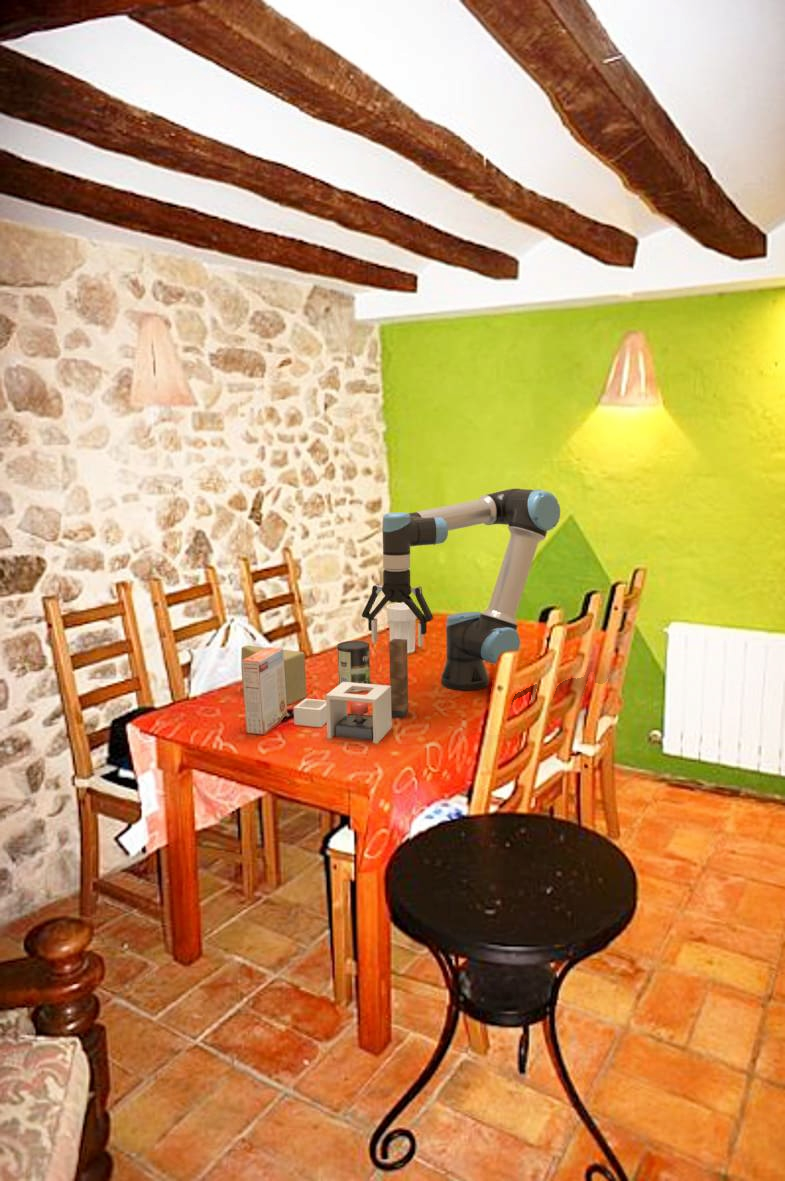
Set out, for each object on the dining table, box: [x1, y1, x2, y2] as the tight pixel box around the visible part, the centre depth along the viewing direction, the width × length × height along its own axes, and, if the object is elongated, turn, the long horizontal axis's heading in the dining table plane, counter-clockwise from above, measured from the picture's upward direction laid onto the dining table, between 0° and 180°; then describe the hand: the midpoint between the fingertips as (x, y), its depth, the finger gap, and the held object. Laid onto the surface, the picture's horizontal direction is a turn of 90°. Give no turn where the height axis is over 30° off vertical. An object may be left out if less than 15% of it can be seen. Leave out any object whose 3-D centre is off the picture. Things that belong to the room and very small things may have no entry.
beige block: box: [240, 645, 307, 706], centre depth 248 cm, size 22×10×15 cm, turn 57°
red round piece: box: [350, 701, 369, 723], centre depth 216 cm, size 5×5×6 cm
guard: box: [325, 682, 393, 745], centre depth 216 cm, size 14×12×12 cm
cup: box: [386, 602, 418, 656], centre depth 295 cm, size 11×11×17 cm
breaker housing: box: [335, 712, 373, 742], centre depth 217 cm, size 10×9×4 cm
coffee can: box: [336, 640, 371, 693], centre depth 255 cm, size 10×10×14 cm
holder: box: [293, 698, 327, 728], centre depth 226 cm, size 8×8×5 cm
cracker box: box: [240, 646, 288, 736], centre depth 222 cm, size 14×6×21 cm, turn 160°
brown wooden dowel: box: [388, 639, 409, 719], centre depth 228 cm, size 4×4×22 cm
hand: (397, 643), depth 226 cm, fingers open, 13 cm apart
